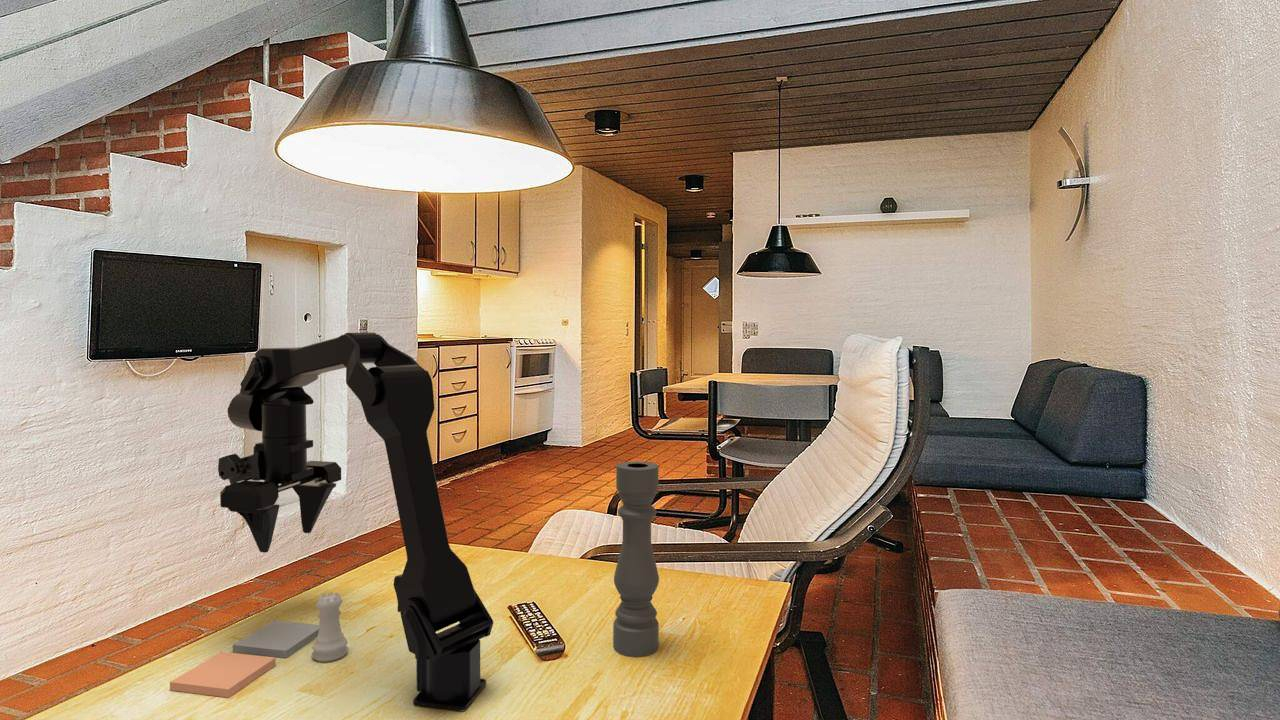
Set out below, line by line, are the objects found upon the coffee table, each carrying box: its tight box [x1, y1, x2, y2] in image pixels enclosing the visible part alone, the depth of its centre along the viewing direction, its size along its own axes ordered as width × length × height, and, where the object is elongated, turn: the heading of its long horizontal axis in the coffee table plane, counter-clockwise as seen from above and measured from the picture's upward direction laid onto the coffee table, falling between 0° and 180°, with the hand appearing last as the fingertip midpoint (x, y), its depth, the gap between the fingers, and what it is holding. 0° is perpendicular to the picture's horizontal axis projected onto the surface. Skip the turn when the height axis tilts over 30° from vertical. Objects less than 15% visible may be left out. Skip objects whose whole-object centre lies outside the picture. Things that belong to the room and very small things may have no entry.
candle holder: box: [612, 460, 660, 658], centre depth 97 cm, size 6×6×25 cm
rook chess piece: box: [311, 592, 349, 663], centre depth 94 cm, size 4×4×8 cm
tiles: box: [169, 619, 319, 698], centre depth 93 cm, size 8×18×1 cm, turn 169°
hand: (286, 542), depth 104 cm, fingers open, 9 cm apart
